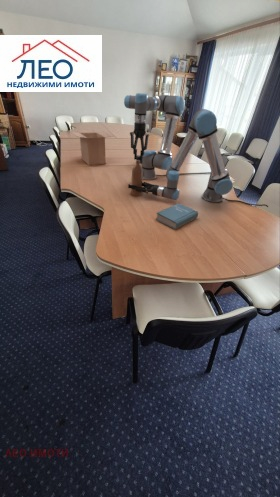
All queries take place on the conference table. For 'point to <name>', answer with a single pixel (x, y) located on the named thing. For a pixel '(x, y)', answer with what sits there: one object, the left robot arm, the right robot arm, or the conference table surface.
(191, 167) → the conference table surface
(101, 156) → the box
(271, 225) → the conference table surface
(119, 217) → the conference table surface
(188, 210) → the book
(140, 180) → the bottle
